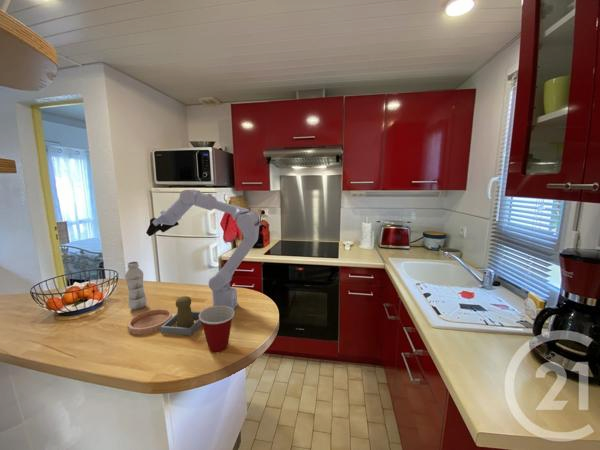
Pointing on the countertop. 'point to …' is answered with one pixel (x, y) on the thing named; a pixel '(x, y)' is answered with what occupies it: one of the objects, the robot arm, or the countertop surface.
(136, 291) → the plastic bottle
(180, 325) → the olive rounded piece
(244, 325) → the countertop surface
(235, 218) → the robot arm
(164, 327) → the parts tray
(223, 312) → the plastic cup
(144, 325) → the dish
